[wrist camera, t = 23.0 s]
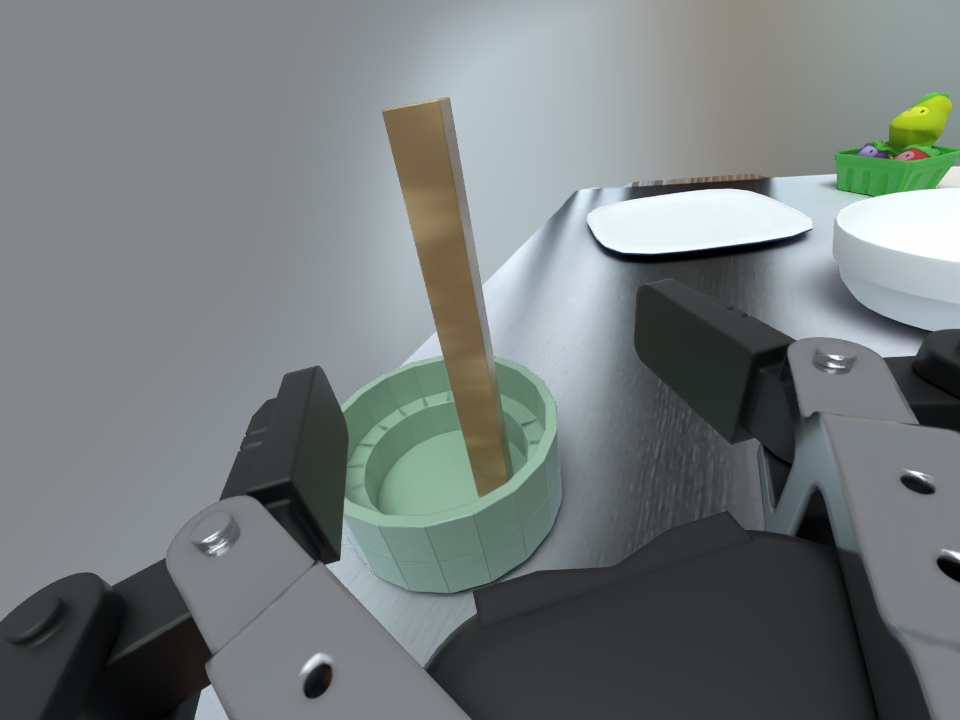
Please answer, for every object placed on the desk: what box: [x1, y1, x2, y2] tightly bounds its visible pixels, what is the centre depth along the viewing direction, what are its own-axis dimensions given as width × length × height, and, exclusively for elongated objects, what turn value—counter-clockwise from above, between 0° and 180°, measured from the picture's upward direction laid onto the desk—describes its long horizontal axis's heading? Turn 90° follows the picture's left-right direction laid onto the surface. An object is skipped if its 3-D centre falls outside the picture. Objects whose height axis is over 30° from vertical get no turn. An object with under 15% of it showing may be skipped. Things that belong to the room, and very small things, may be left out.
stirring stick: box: [382, 97, 513, 498], centre depth 20 cm, size 2×2×20 cm
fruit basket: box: [835, 92, 960, 196], centre depth 55 cm, size 11×9×11 cm
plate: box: [587, 189, 812, 256], centre depth 58 cm, size 25×25×2 cm
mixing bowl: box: [340, 355, 563, 593], centre depth 24 cm, size 13×13×6 cm
